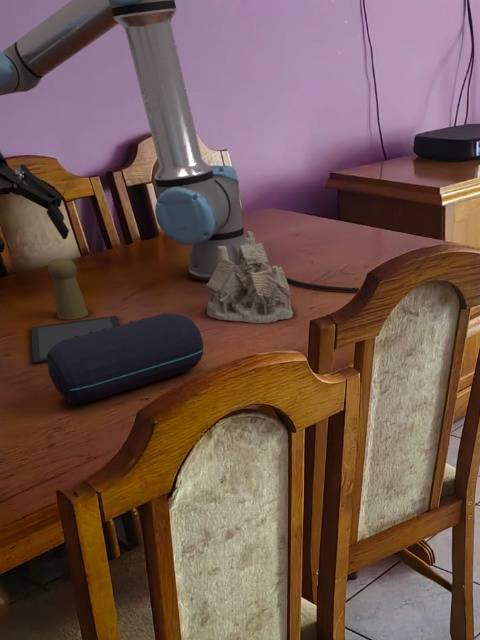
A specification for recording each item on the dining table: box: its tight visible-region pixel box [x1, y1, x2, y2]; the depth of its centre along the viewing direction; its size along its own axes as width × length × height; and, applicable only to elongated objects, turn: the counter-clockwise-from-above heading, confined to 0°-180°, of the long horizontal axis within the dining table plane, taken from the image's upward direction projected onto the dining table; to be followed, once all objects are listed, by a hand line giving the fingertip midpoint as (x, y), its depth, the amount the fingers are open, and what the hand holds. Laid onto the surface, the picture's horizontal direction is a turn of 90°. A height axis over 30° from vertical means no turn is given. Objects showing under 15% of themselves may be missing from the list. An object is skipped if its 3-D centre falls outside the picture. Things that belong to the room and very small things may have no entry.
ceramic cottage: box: [206, 230, 294, 324], centre depth 165 cm, size 16×16×15 cm
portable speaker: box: [47, 313, 204, 405], centre depth 136 cm, size 25×10×10 cm, turn 133°
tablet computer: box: [30, 315, 120, 365], centre depth 158 cm, size 16×20×1 cm
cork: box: [47, 258, 89, 321], centre depth 167 cm, size 6×6×11 cm
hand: (35, 241), depth 168 cm, fingers open, 13 cm apart
